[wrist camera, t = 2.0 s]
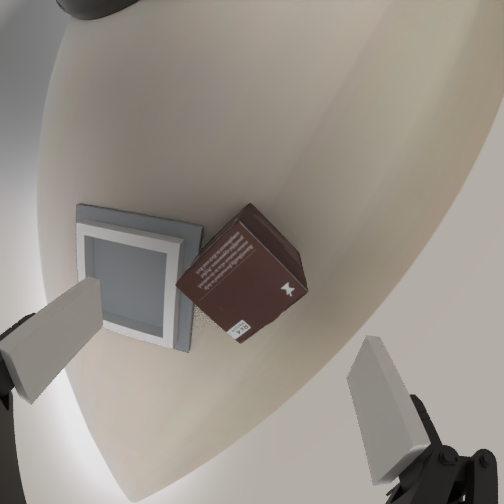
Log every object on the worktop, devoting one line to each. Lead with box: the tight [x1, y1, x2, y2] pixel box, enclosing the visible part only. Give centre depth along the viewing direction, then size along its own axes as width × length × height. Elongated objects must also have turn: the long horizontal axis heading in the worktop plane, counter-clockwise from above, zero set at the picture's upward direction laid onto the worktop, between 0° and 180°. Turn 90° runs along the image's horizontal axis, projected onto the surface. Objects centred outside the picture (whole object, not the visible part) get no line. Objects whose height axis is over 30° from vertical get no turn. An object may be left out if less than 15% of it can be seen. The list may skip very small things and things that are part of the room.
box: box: [175, 204, 308, 343], centre depth 20 cm, size 6×6×7 cm
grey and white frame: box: [76, 204, 203, 353], centre depth 24 cm, size 13×13×2 cm
